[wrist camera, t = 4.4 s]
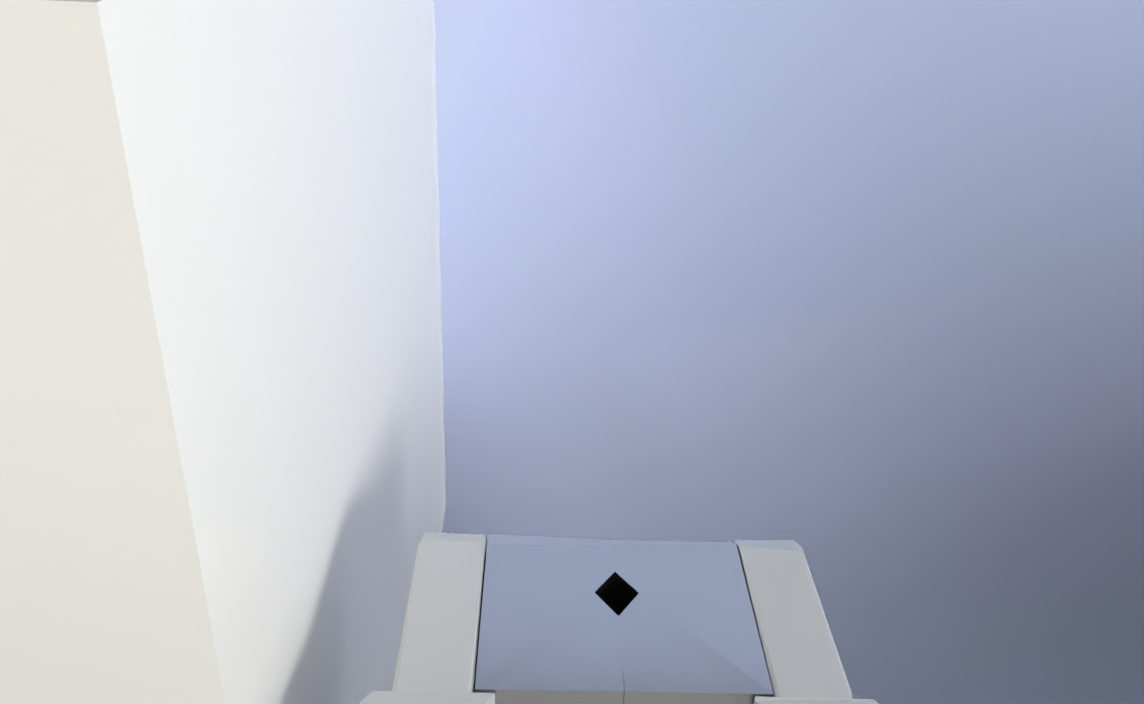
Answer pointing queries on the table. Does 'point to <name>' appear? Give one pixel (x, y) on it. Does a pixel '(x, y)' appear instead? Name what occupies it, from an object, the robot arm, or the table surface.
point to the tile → (216, 347)
